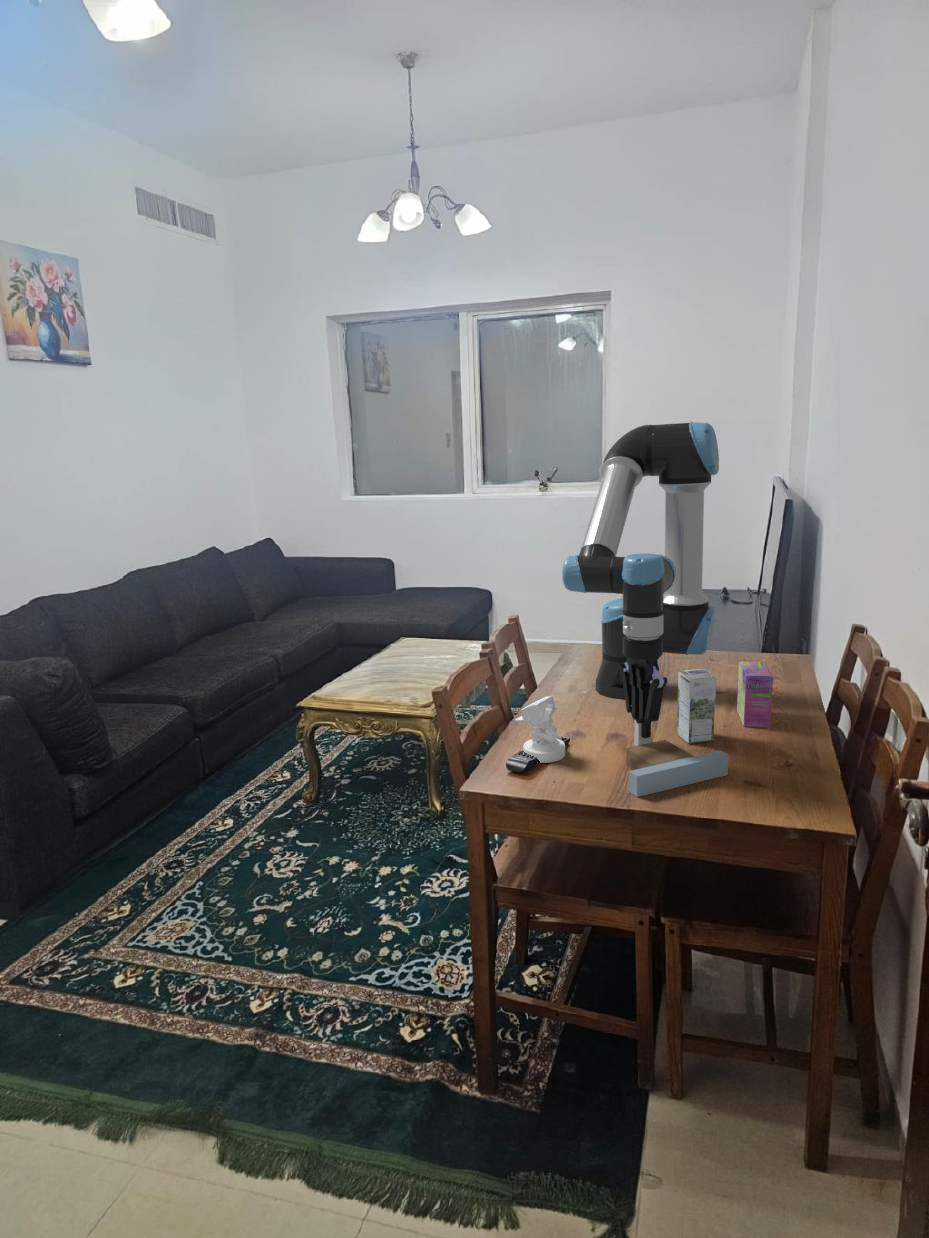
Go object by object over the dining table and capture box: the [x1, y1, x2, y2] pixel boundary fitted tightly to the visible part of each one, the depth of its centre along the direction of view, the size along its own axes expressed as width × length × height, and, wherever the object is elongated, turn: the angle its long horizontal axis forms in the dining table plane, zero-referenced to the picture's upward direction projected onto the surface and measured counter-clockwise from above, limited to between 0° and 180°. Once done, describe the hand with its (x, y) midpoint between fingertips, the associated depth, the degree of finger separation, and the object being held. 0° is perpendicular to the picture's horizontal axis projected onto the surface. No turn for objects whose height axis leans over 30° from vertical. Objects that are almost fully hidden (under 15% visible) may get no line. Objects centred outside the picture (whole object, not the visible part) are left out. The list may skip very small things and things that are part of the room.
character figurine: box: [514, 695, 566, 764], centre depth 157 cm, size 9×10×12 cm
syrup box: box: [676, 668, 717, 745], centre depth 161 cm, size 6×6×14 cm
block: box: [625, 739, 694, 771], centre depth 148 cm, size 9×9×4 cm
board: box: [628, 750, 729, 798], centre depth 142 cm, size 2×20×4 cm, turn 111°
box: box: [736, 661, 774, 729], centre depth 170 cm, size 10×6×12 cm, turn 168°
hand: (642, 750), depth 152 cm, fingers closed
